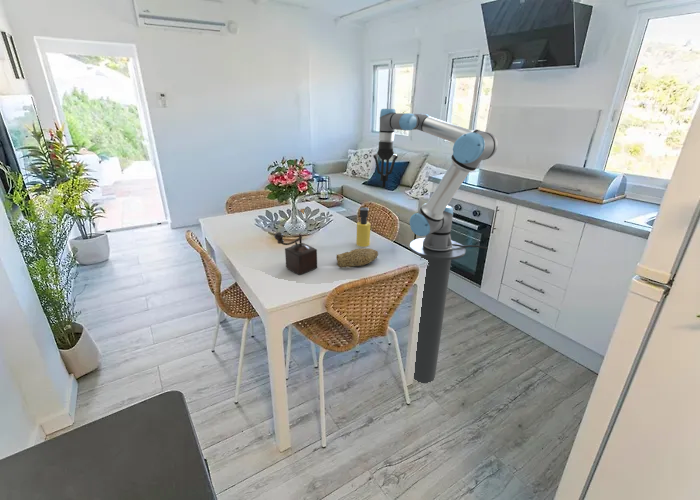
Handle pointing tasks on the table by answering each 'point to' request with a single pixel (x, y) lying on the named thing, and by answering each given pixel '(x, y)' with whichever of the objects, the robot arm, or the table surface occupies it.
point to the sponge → (356, 257)
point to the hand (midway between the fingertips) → (383, 187)
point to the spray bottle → (363, 229)
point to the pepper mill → (298, 255)
